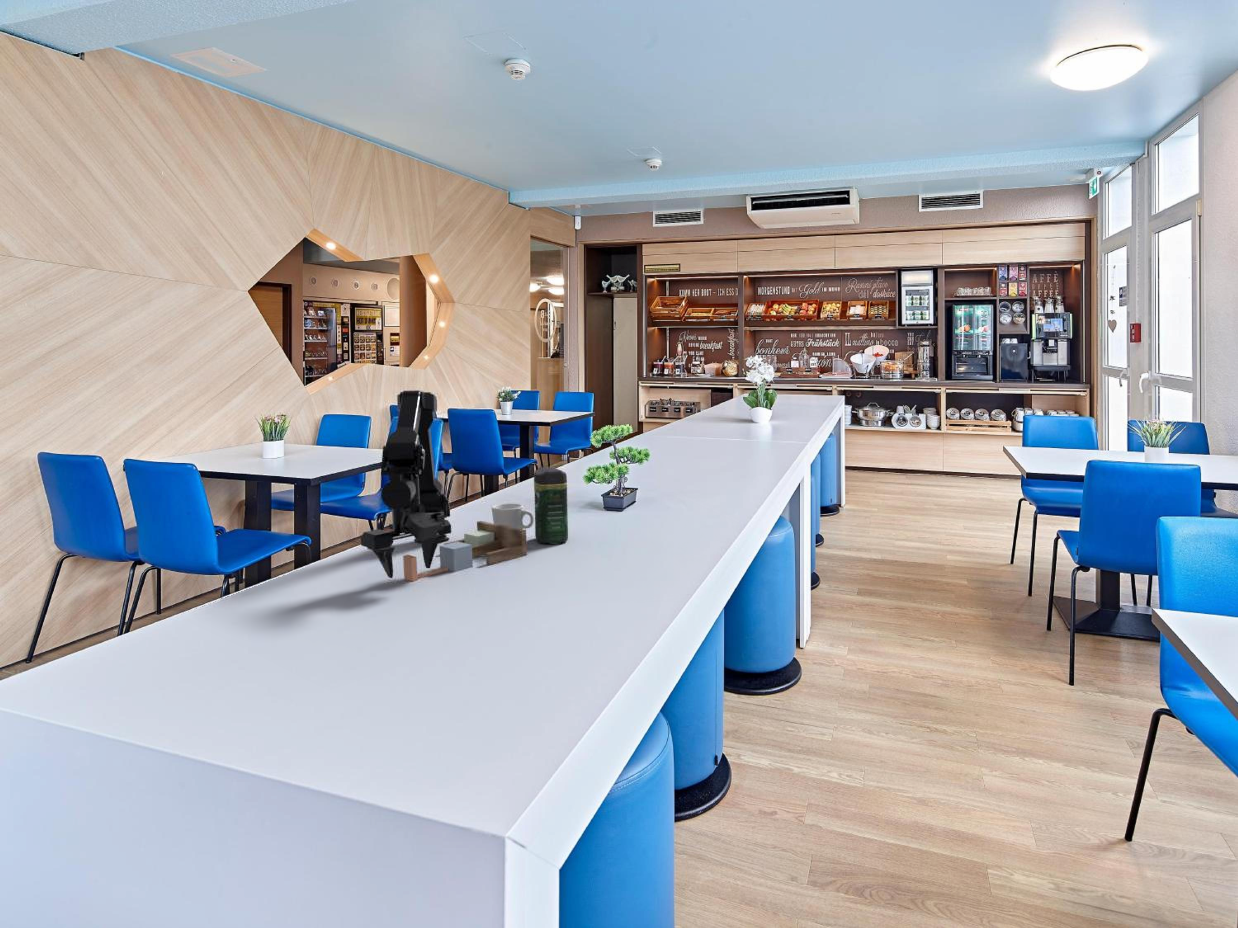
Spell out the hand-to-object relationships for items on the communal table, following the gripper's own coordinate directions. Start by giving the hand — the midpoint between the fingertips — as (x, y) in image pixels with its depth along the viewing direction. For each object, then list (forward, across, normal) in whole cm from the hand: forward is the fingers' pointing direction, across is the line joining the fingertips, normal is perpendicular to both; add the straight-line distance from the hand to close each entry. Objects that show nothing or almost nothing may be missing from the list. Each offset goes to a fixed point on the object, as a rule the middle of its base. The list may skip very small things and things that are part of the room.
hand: (409, 572), depth 168 cm
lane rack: (+2, +23, +4) cm, 23 cm away
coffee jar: (+2, +43, +1) cm, 43 cm away
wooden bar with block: (+1, +7, 0) cm, 7 cm away
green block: (+2, +25, +8) cm, 26 cm away
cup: (+2, +40, +12) cm, 42 cm away
